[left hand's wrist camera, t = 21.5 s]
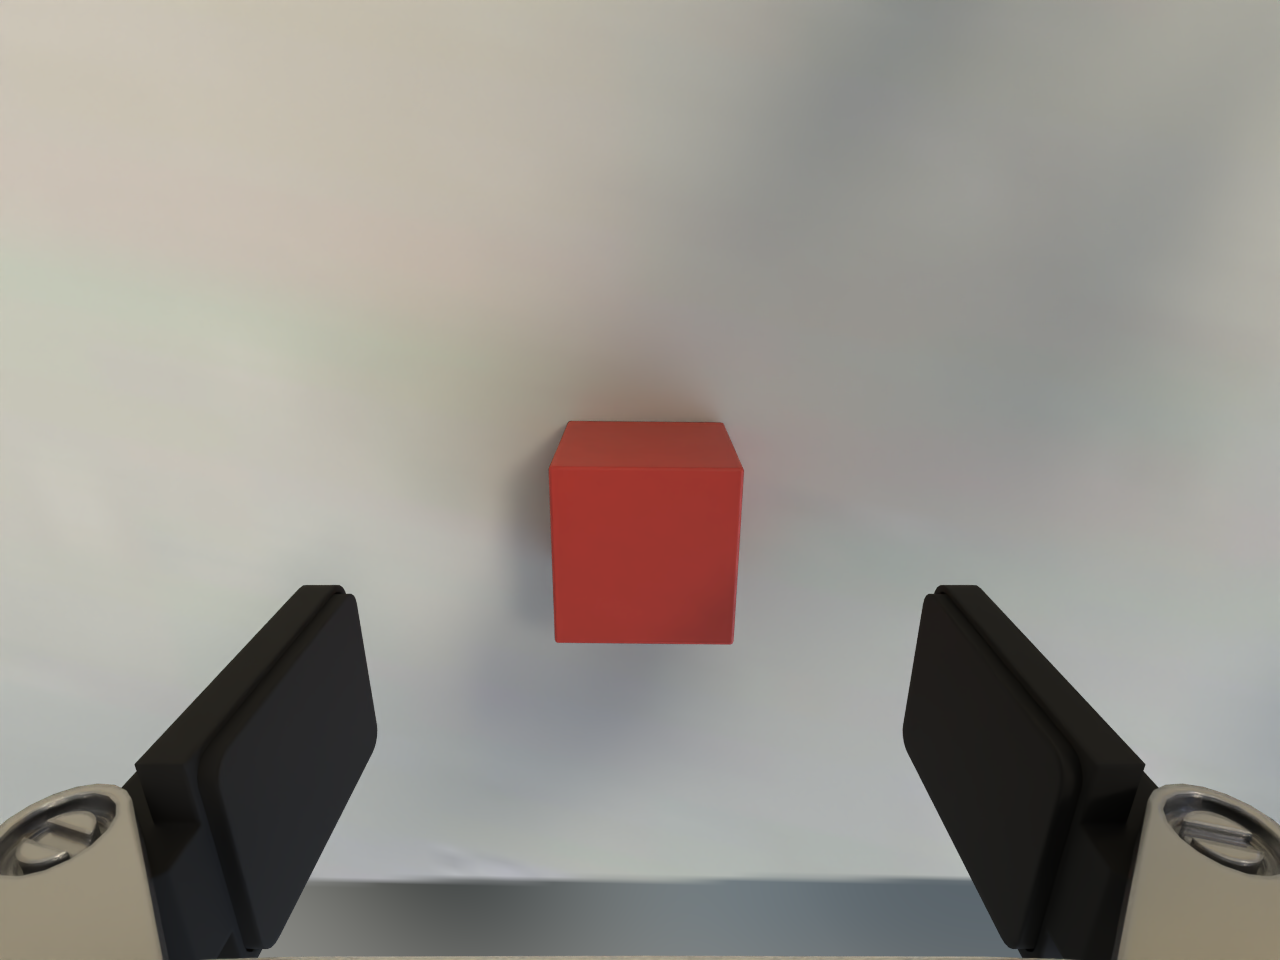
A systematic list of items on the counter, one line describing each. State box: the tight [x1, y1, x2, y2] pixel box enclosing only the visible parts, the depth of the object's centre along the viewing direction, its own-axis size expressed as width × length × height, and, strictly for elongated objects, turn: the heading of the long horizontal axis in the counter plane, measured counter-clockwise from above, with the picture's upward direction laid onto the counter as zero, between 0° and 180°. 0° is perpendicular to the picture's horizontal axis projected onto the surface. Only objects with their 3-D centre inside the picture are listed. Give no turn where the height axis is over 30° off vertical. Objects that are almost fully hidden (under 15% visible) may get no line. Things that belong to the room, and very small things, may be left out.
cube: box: [549, 421, 744, 644], centre depth 18 cm, size 4×5×4 cm
